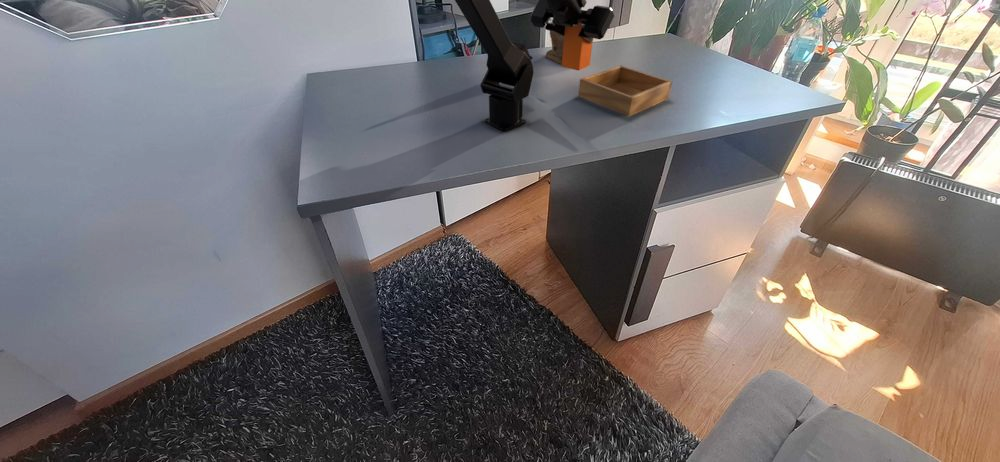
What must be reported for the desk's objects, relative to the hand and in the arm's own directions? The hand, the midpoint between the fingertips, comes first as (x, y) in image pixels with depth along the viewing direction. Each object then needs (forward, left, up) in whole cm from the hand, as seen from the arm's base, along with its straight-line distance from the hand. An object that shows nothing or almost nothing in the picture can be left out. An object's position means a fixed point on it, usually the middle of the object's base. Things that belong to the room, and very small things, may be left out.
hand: (581, 39), depth 99 cm
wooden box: (0, -14, -11) cm, 18 cm away
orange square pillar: (-1, 0, -6) cm, 6 cm away
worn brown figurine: (+11, +15, -11) cm, 22 cm away
